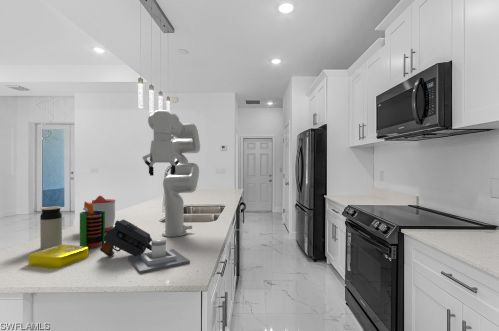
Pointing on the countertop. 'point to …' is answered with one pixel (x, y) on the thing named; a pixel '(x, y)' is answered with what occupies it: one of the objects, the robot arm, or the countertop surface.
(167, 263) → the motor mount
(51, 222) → the travel mug
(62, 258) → the element tile
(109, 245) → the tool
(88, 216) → the motor
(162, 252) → the white domed cylinder
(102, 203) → the citrus juicer
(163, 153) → the robot arm
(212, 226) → the countertop surface
